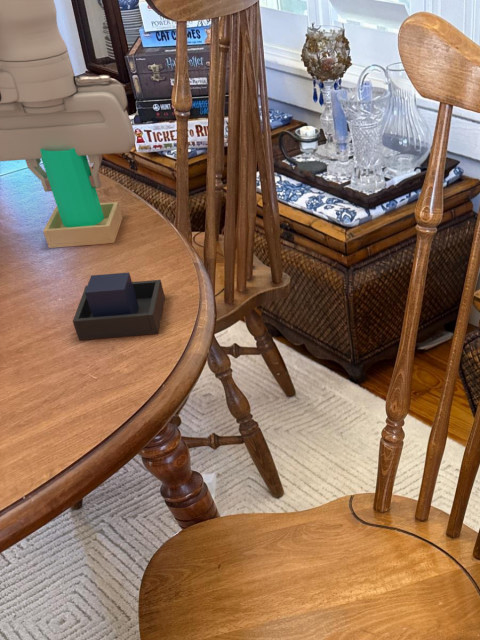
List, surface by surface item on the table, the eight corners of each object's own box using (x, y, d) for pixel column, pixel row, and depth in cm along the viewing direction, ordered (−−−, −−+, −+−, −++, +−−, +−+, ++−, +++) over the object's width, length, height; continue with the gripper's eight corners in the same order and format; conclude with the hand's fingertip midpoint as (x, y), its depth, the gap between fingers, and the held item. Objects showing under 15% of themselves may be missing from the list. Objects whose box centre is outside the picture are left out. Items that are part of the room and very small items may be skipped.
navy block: (96, 327, 93) (84, 292, 90) (102, 309, 96) (91, 275, 93) (134, 324, 94) (124, 289, 90) (138, 306, 97) (129, 272, 94)
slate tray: (79, 340, 92) (72, 321, 90) (91, 304, 99) (85, 285, 97) (158, 333, 93) (152, 314, 91) (165, 298, 99) (160, 279, 98)
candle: (106, 210, 116) (81, 123, 108) (102, 226, 112) (75, 136, 104) (65, 214, 116) (36, 126, 108) (59, 230, 112) (29, 140, 103)
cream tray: (48, 248, 112) (42, 230, 110) (61, 223, 118) (55, 206, 117) (114, 243, 112) (109, 225, 111) (122, 218, 119) (118, 201, 117)
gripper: (123, 67, 104) (149, 175, 114) (-34, 77, 103) (5, 185, 112) (117, 80, 100) (144, 191, 109) (-48, 90, 98) (-6, 202, 108)
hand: (73, 188), depth 111 cm, fingers closed on candle, 5 cm apart
